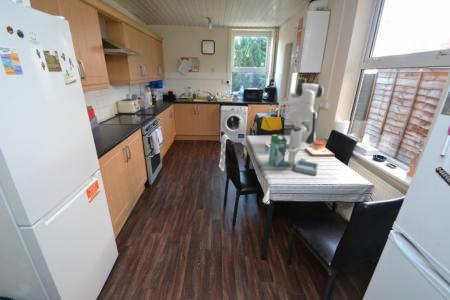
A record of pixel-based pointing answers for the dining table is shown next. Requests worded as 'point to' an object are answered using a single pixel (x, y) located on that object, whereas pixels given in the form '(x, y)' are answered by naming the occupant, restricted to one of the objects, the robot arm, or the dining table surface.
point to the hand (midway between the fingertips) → (291, 163)
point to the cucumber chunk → (292, 163)
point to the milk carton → (277, 150)
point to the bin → (306, 167)
